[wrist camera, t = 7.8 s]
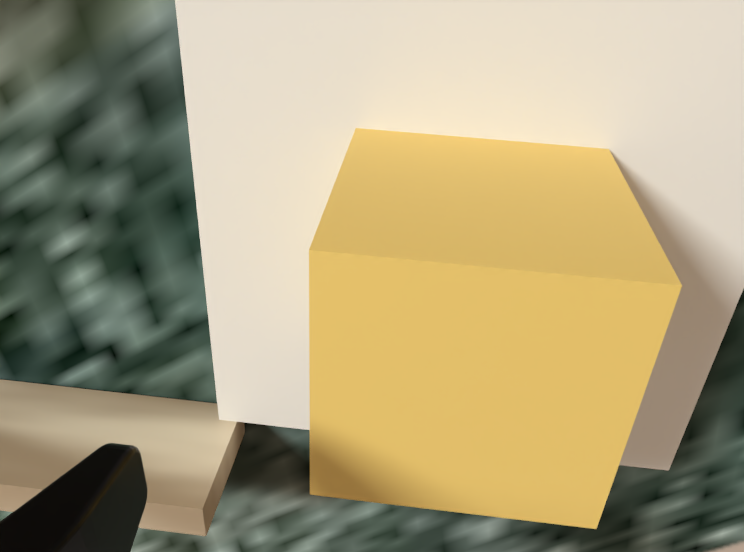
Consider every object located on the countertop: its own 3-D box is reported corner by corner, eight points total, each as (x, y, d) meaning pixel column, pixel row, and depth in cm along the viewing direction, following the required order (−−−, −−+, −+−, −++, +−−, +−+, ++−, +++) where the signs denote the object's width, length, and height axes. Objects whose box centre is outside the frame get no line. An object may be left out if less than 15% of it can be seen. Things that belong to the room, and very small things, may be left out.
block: (558, 349, 16) (596, 529, 11) (348, 327, 16) (309, 494, 12) (608, 149, 13) (682, 285, 9) (356, 128, 13) (308, 249, 9)
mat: (662, 453, 18) (668, 470, 17) (225, 404, 19) (218, 419, 18) (856, -38, 11) (875, -33, 11) (179, -79, 12) (166, -77, 12)
